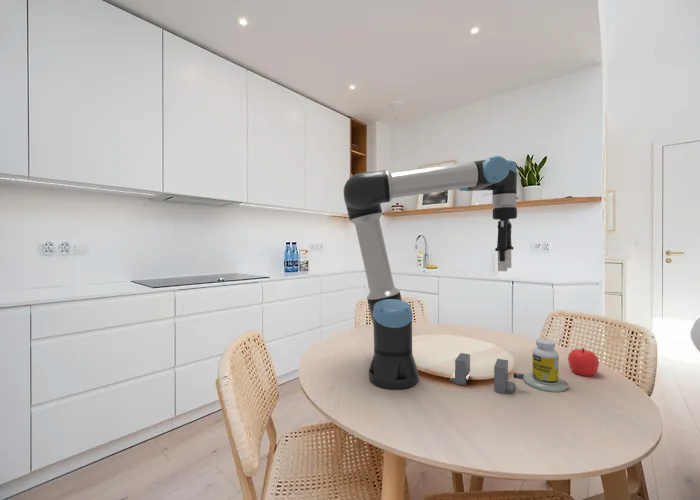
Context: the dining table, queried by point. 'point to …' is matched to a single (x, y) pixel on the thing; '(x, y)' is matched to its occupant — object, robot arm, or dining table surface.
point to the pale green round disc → (557, 387)
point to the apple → (583, 362)
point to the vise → (499, 374)
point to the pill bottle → (545, 362)
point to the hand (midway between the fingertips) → (504, 269)
